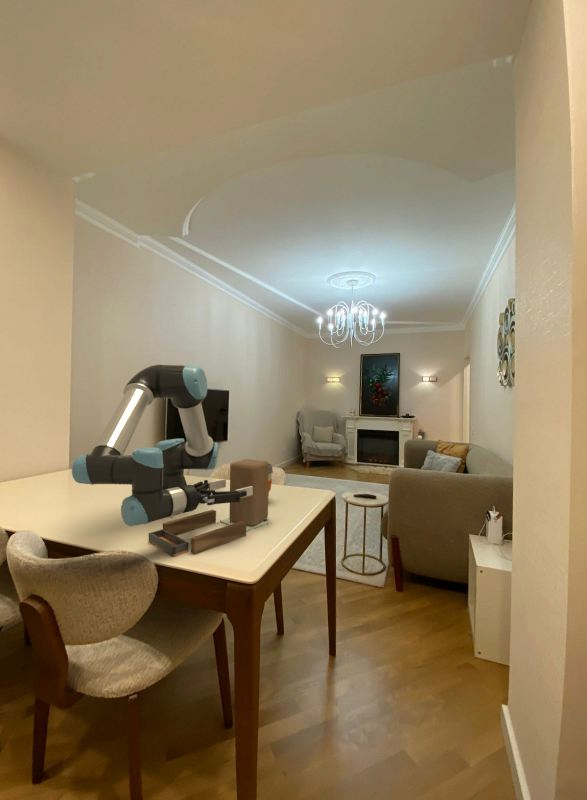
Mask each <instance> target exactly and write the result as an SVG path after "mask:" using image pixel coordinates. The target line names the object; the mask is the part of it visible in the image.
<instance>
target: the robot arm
mask: <svg viewBox="0 0 587 800" xmlns="http://www.w3.org/2000/svg"><path fill="white" fill-rule="evenodd" d="M207 394H208V379H207V375H206V373H205V370H204V369H203V368H202V367H201V366H198V365H192V364H186V365H183V364H182V365H181V364H180V365H178V364H155V365H150V366H147V367H146V368H144V369H142V370H140V371H139V372H137V373H136V374H135V375H134V376H132V378H130V379H129V380H128V382H127V384H126V385H125V387H124V388H123V397H122V399H121V401H120V402H119V404H118V406H117V408H116V410H115V411H114V413H113V415H112V416H111V418H110V420H109V422H108V423H107V425H106V427H105V429H104V430H103V432H102V434H101V435H100V437H99V439H98V440H97V442H96V445H95V446H94V448H93V449H92V450H91V453H90V454H89V453H86V454H81V455H79V456H77V457H76V458H74V461H73V463H72V467H71V475H72V478H73V480H74V481H75V482H76V483H78V484H84V485H91V486H92V485H131V495H129V496H127V497H125V498H124V499H123V500H122V503H121V505H120V512H121V513H120V514H121V518H122V521H123V522H124V524H125V525H127V526H129V527H134V526H136V527H137V526H140V525H146V524H149V523H152V522H155V521H160V520H163V519H167V518H171V519H172V518H173V517H174V516H177V515H180V514H181V515H182V514H186V513H189V512H194V511H195V510H196V509H197V508H198V506H199V505H200V504H201V505H202V504H203V505H204V504H206V505H207V506H213V505H220V504H230V503H232V502H236V503H237V502H240V499H241V498H243V497H247V496H251V495H253V486H250V487H245V488H241V489H237V490H235V491H230V490H228V491H226V490H225V491H223V490H222V491H216V490H219V489H223V488H226V486H227V485H226V484H227V479H226V478H222V479H217V480H213V481H209V480H208V479H204V480H203V481H199V482H197V483H194V484H187V481H186V478H185V475H184V474H185V473H184V472H185V470H194V471H195V470H196V471H197V470H199V471H200V470H201V471H208V470H214V469H216V467H217V462H218V458H219V450H220V449H219V448H220V447H219V446H220V445H219V442H216V441H214V440H213V438H212V437H211V436H210V435H209V433H208V430H207V429H208V428H207V424H206V419H205V414H204V410H203V405H202V402H203V401H204V399H205V398H206V397H207ZM155 399H170V400H171V404H172V405H173V406H174V407H175V408H177V409H178V413H179V417H180V421H181V424H182V428H183V432H184V434H185V438H186V441H185V438H183V437H182V438H172V439H166V440H161V441H158V442H157V443H156V444H155V447H151V446H150V447H149V446H148V447H138V448H135V449H134V450H132V454H131V455H130V454H129V455H128V454H127V455H124V453H125V452H126V450H127V448H128V447H129V443H130V441H131V439H132V438H133V436H134V433H135V431H136V429H137V427H138V425H139V423H140V421H141V419H142V417H143V414H144V413H145V410H146V409H147V406H149V405H152V403H153V401H154V400H155Z"/></svg>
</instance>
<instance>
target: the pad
mask: <svg viewBox="0 0 587 800" xmlns="http://www.w3.org/2000/svg"><path fill="white" fill-rule="evenodd" d="M219 522H220V523H221V524H225V525H226V526H228V525H231V524H234V523H236V522H231V521H230V519H229V517H228V518H227V517H226V518H224V519H221V520H219ZM268 524H269V523H268V521H264V520H263V521H261V522H259V523H258V524H256V525H254V526H250V525H246V533H247V532H249V531H252V530H255V529H258V528H260V527H264V526H266V525H268Z"/></svg>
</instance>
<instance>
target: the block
mask: <svg viewBox="0 0 587 800" xmlns="http://www.w3.org/2000/svg"><path fill="white" fill-rule="evenodd" d="M269 464H270V463H269V461H266V460H258V459H251V458H245V459H242V460H241V459H240V460H238V461H234V462H231V463H230V467H229V468H230V469H229V491H235V490H237V489H241V488H245V487H250V486H253V495H251V496H247V497H243V498H241V499H240V502H237V503H236V502H232V503H229V514H228V515H229V517H228V518H229V519H230V521H231V522H236V523H237V522H240V521H244V522H246V525H250V526H254V525H256V524H258V523H259V522H261V521H264V520H266V519H267V518H268V517H269V497H268V479H269Z"/></svg>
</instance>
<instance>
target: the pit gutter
mask: <svg viewBox="0 0 587 800" xmlns="http://www.w3.org/2000/svg"><path fill="white" fill-rule="evenodd" d="M148 543H150V544H151V545H153V546H155V547H157V548H159V549H160V550H162V551H163V552H165V553H167V555H170V556H171V557H178V556H179V555H183V554H186V553H188V552H189V550H190V549H189V548H190V546H189V541H187V540H185V539H183V538H181V537H179V536H177V535H174V534H172V533H170V532H168V531H166V530H164V529H163V528H162V529H158V530H155V531H151V532H148Z"/></svg>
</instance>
